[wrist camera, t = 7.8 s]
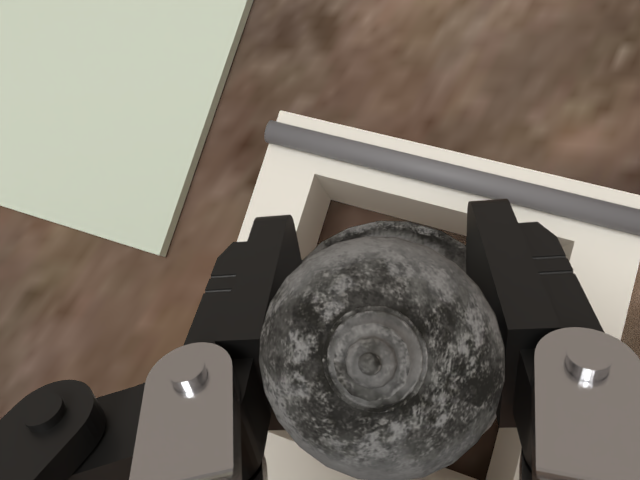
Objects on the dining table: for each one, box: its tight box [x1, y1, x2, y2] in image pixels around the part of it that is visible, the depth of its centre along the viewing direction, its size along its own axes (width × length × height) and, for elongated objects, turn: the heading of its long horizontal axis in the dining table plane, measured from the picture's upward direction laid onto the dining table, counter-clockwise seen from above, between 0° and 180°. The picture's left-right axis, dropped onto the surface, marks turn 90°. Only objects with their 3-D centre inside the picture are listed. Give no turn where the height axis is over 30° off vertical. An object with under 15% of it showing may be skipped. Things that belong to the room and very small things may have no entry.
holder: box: [237, 110, 640, 480], centre depth 19 cm, size 13×13×5 cm
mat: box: [0, 0, 253, 257], centre depth 26 cm, size 16×14×1 cm
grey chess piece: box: [259, 221, 505, 480], centre depth 10 cm, size 6×6×12 cm
